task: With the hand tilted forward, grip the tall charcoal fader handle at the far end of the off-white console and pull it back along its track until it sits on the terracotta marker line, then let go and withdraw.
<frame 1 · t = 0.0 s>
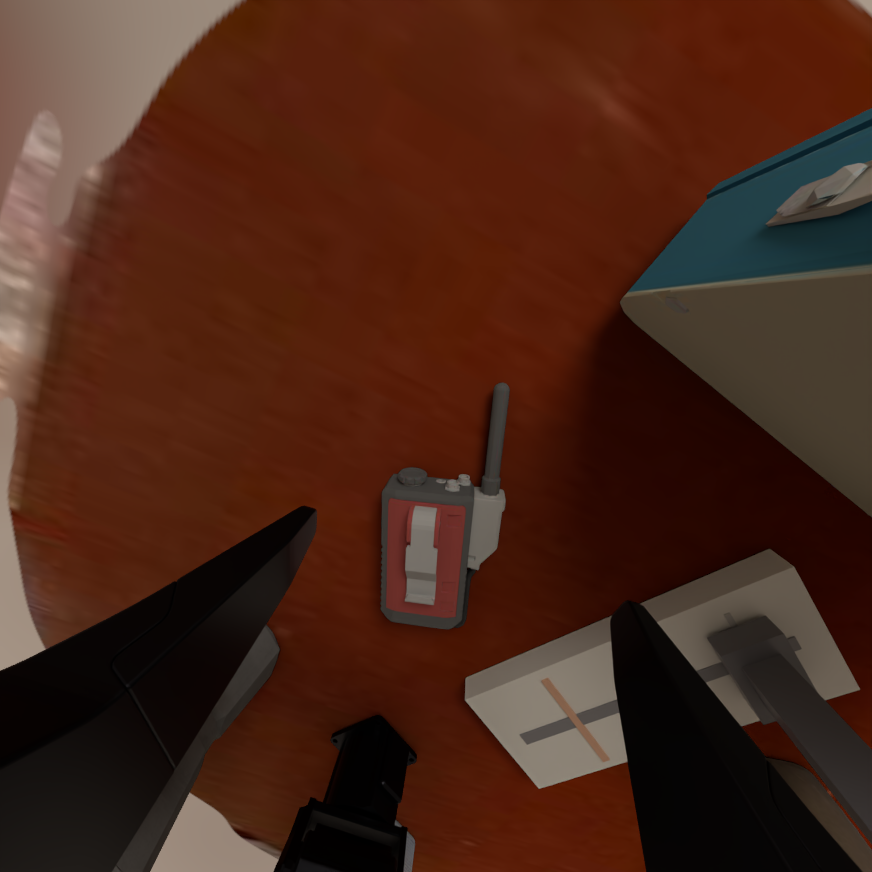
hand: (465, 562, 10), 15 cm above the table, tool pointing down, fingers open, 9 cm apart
fader handle: (835, 754, 19), point 8 cm above the table, slide at 8.0 cm
pillar candle: (757, 790, 32), on the table
coffeepot: (243, 634, 33), on the table
fader console: (635, 671, 29), on the table
medicine box: (378, 833, 40), on the table
radio: (823, 400, 22), on the table
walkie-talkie: (443, 504, 27), on the table
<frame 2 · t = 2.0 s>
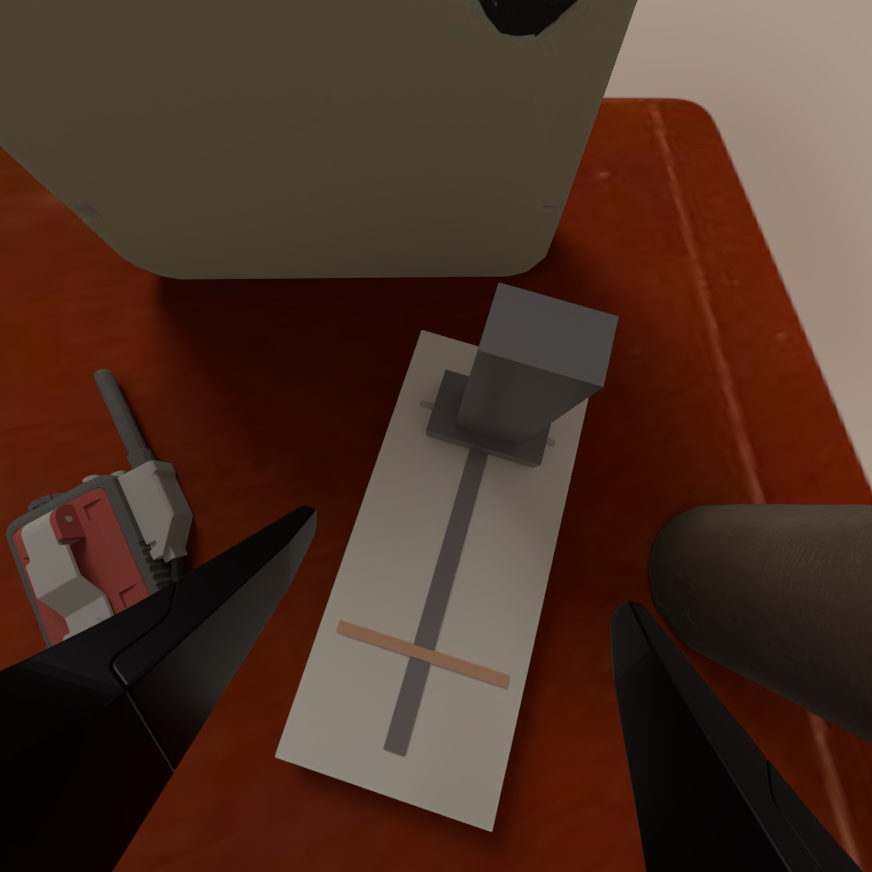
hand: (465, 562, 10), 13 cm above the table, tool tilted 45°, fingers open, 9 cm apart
fader handle: (508, 392, 17), point 8 cm above the table, slide at 8.0 cm
pillar candle: (719, 579, 23), on the table
fader console: (449, 543, 23), on the table
radio: (347, 242, 28), on the table
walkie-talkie: (129, 524, 23), on the table
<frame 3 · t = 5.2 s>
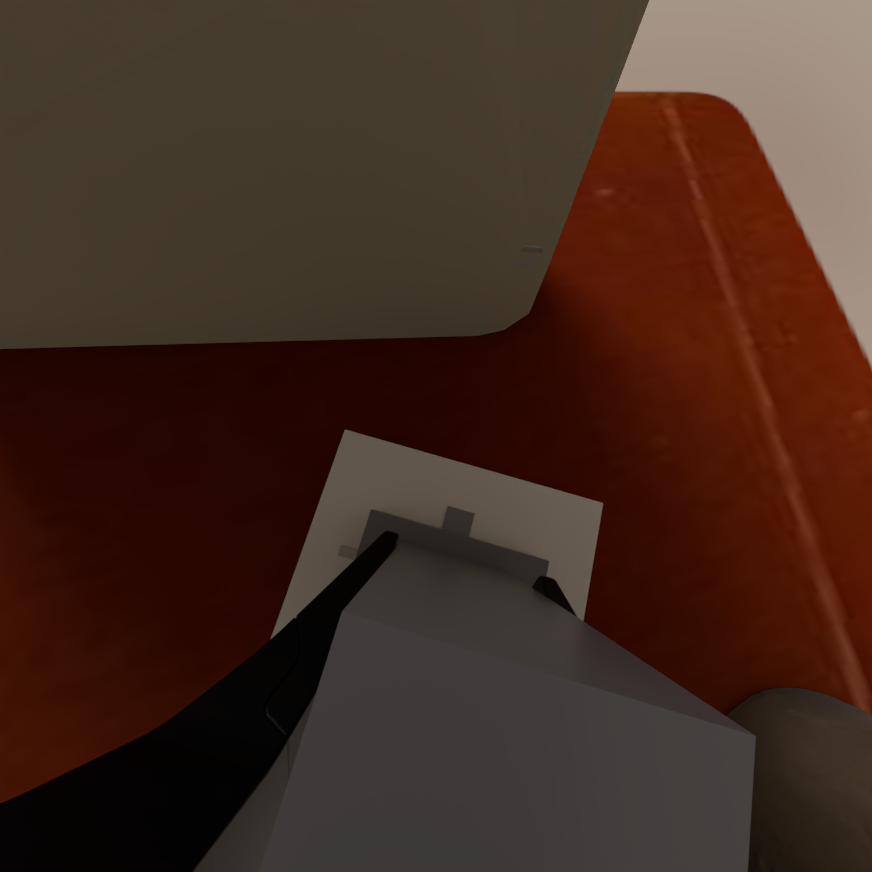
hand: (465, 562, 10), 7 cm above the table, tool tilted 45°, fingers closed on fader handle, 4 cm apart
fader handle: (455, 625, 9), point 8 cm above the table, slide at 8.0 cm, touching gripper
pillar candle: (804, 808, 15), on the table
fader console: (389, 767, 15), on the table
radio: (252, 289, 20), on the table
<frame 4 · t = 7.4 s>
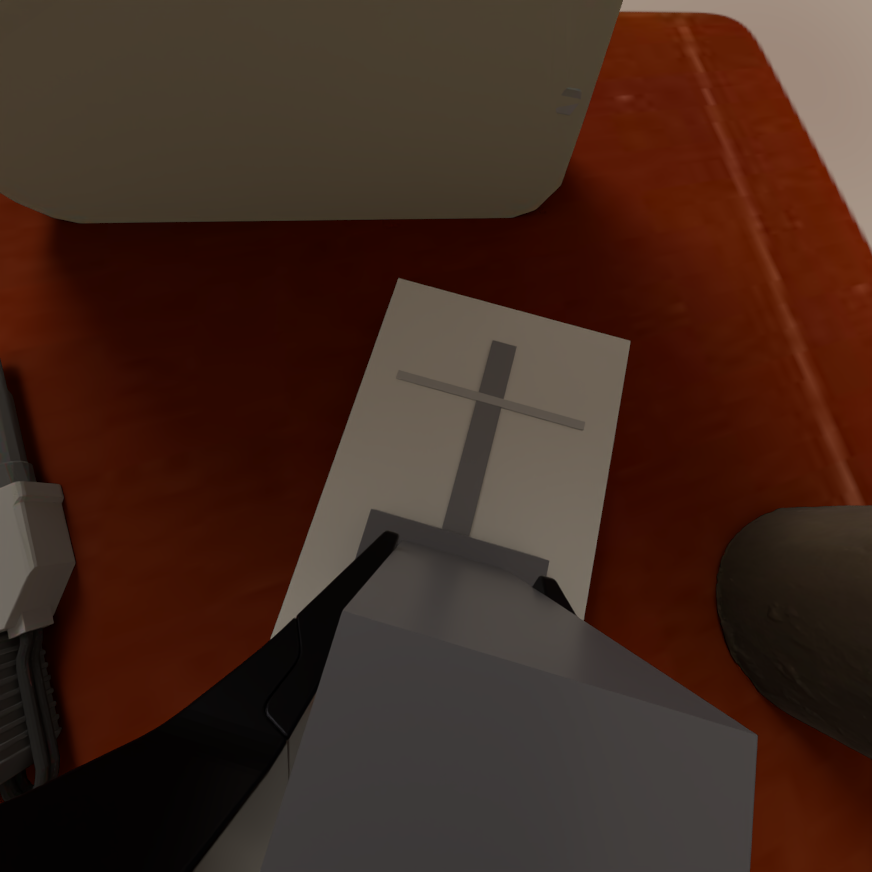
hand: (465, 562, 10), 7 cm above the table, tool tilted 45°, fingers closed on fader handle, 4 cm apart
fader handle: (456, 624, 9), point 8 cm above the table, slide at -0.2 cm, touching gripper
pillar candle: (811, 609, 17), on the table
fader console: (441, 568, 16), on the table
radio: (304, 177, 22), on the table
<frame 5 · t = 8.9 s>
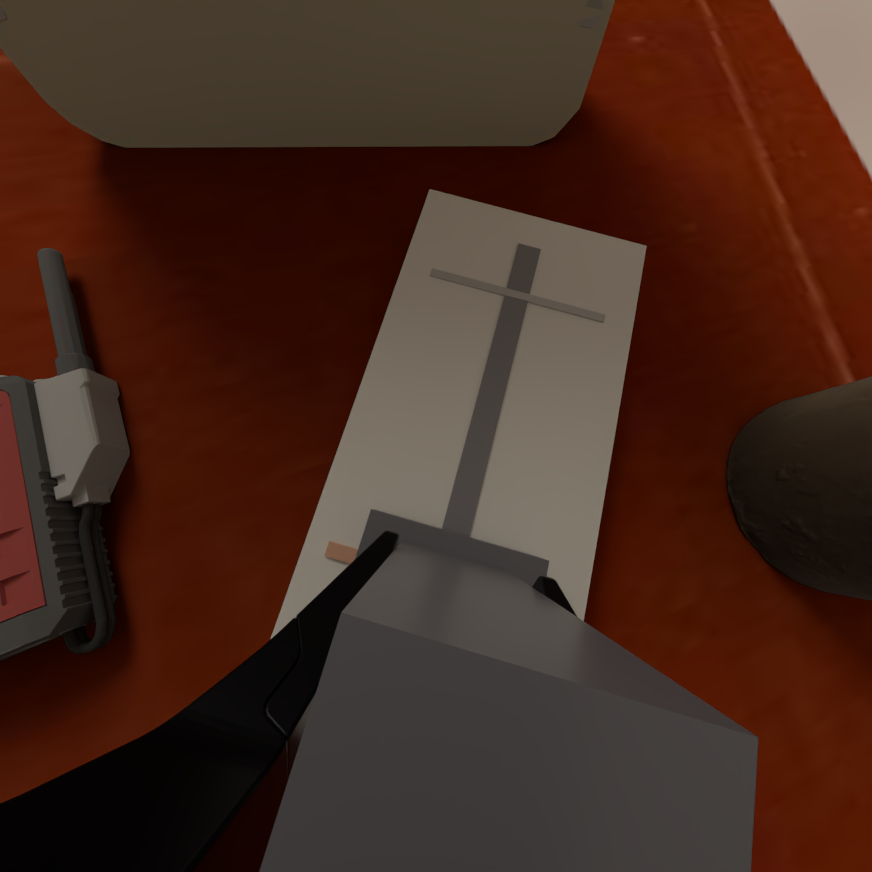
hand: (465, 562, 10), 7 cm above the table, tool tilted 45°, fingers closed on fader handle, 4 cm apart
fader handle: (455, 625, 9), point 8 cm above the table, slide at -5.9 cm, touching gripper
pillar candle: (814, 493, 18), on the table
fader console: (471, 453, 18), on the table
radio: (335, 109, 23), on the table
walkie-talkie: (47, 452, 18), on the table
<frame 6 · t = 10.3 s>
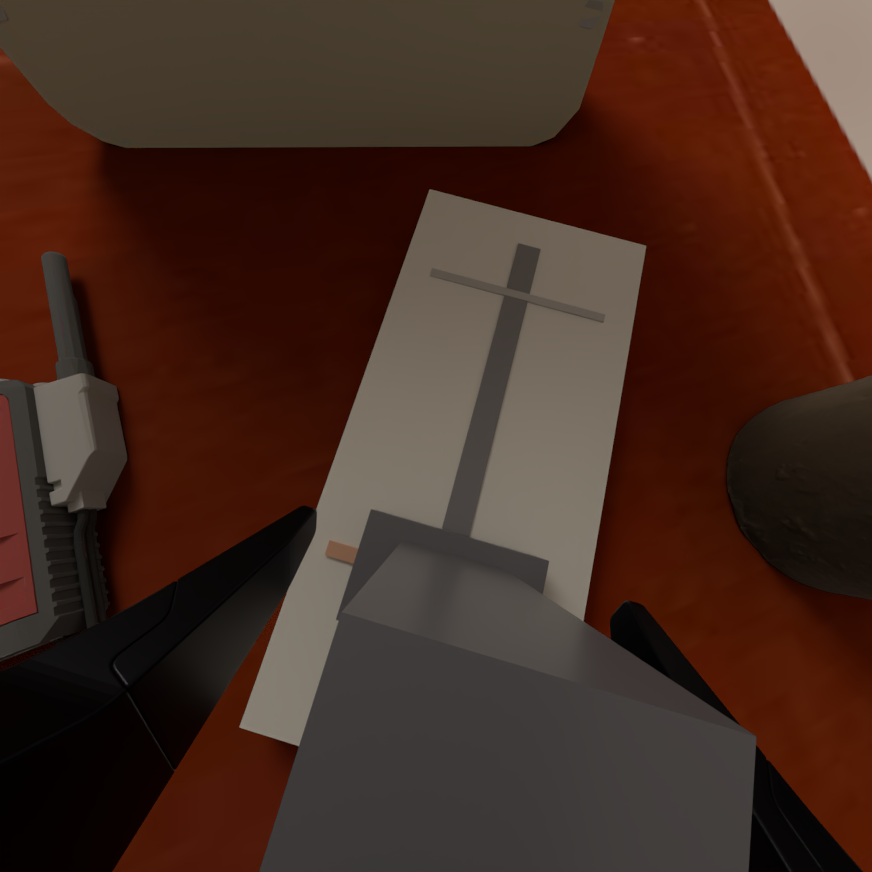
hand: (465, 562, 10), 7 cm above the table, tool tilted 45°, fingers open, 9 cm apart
fader handle: (455, 625, 9), point 8 cm above the table, slide at -6.0 cm
pillar candle: (814, 493, 18), on the table
fader console: (471, 452, 18), on the table
radio: (335, 110, 23), on the table
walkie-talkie: (46, 455, 18), on the table
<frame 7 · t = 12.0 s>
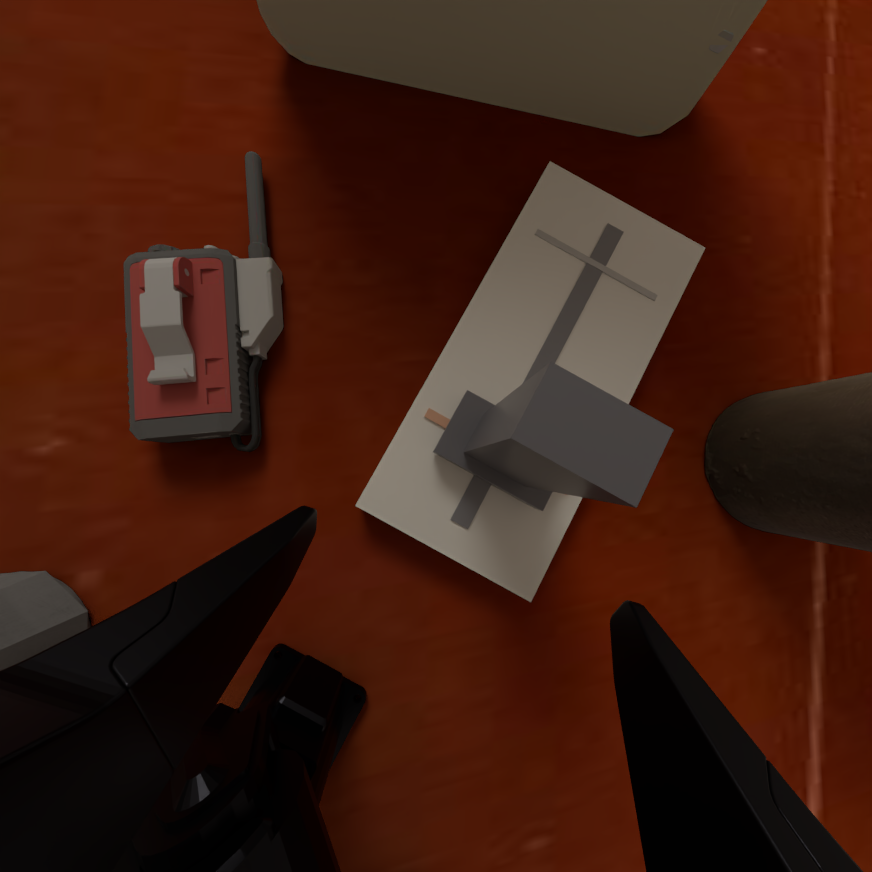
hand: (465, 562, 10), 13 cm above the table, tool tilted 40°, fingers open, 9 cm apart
fader handle: (528, 445, 16), point 8 cm above the table, slide at -6.0 cm
pillar candle: (767, 463, 25), on the table
coffeepot: (29, 625, 21), on the table
fader console: (530, 376, 24), on the table
radio: (481, 64, 26), on the table
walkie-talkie: (223, 310, 24), on the table
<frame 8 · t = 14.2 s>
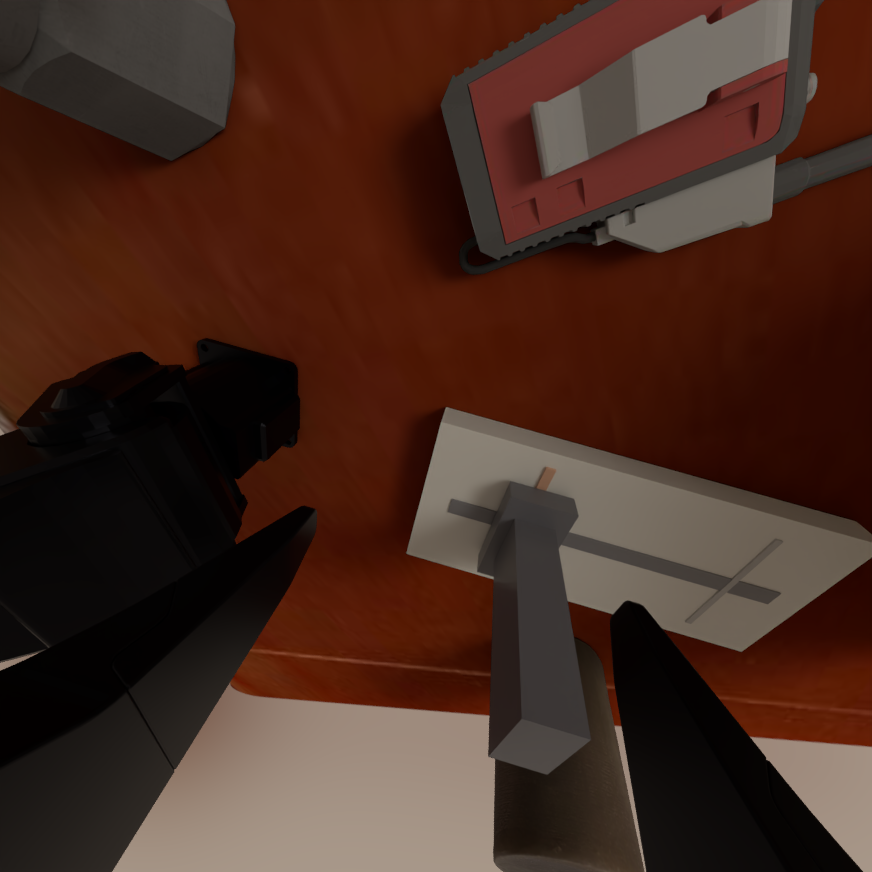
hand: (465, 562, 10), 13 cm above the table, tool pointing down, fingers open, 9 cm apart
fader handle: (527, 609, 18), point 8 cm above the table, slide at -6.0 cm
pillar candle: (546, 657, 34), on the table
coffeepot: (168, 30, 15), on the table
fader console: (602, 528, 25), on the table
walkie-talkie: (679, 125, 14), on the table
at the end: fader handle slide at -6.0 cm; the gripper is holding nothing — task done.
